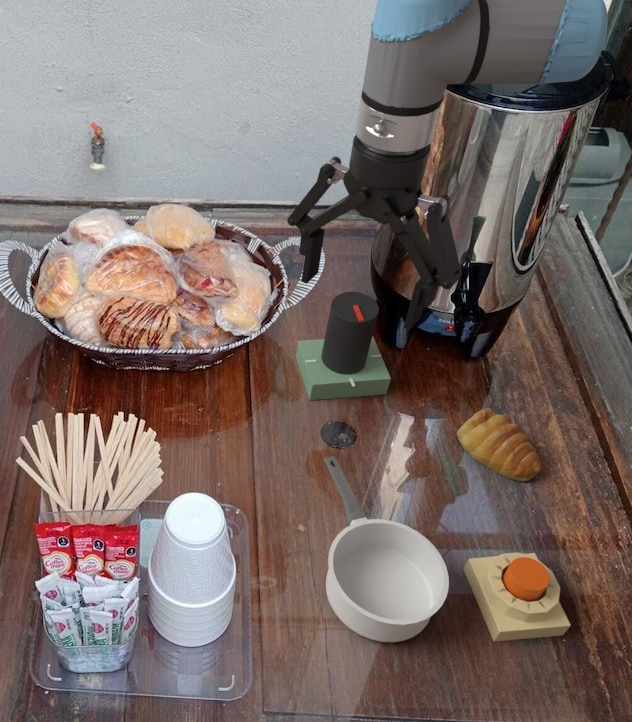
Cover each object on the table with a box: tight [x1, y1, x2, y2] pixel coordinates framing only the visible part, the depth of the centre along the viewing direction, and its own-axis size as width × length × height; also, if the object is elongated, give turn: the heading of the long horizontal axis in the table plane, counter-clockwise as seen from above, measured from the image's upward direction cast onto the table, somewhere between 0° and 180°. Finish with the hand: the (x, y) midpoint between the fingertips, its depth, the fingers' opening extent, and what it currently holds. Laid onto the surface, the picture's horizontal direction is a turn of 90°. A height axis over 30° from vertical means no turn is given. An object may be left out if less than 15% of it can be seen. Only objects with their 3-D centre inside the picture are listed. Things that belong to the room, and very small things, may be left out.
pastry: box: [456, 407, 542, 482], centre depth 90 cm, size 9×7×4 cm
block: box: [463, 551, 572, 642], centre depth 77 cm, size 7×8×4 cm
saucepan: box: [323, 455, 450, 643], centre depth 81 cm, size 12×20×6 cm, turn 13°
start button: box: [504, 557, 549, 601], centre depth 75 cm, size 4×4×2 cm
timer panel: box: [295, 335, 392, 401], centre depth 100 cm, size 10×10×3 cm
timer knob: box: [321, 291, 380, 374], centre depth 96 cm, size 6×6×9 cm
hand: (359, 299), depth 92 cm, fingers open, 13 cm apart
